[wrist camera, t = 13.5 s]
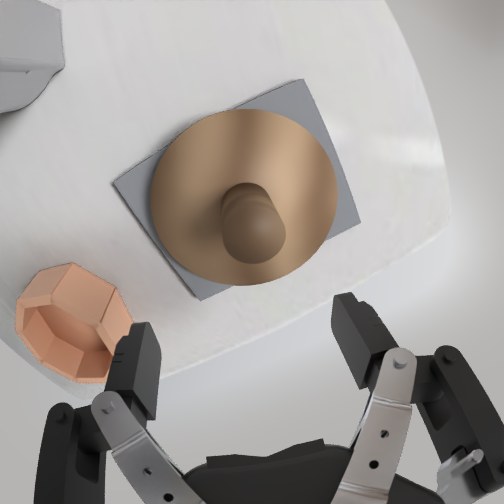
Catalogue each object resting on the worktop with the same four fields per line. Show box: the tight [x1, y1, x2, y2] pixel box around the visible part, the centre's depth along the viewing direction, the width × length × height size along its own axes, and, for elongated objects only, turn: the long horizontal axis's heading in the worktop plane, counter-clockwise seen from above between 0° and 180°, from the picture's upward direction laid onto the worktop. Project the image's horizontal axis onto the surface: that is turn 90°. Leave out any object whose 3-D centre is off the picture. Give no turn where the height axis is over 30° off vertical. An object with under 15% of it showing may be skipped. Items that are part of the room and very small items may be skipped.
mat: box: [114, 79, 361, 301], centre depth 22 cm, size 16×13×1 cm
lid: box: [150, 109, 338, 286], centre depth 19 cm, size 14×14×6 cm
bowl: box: [15, 263, 134, 383], centre depth 24 cm, size 12×12×5 cm
